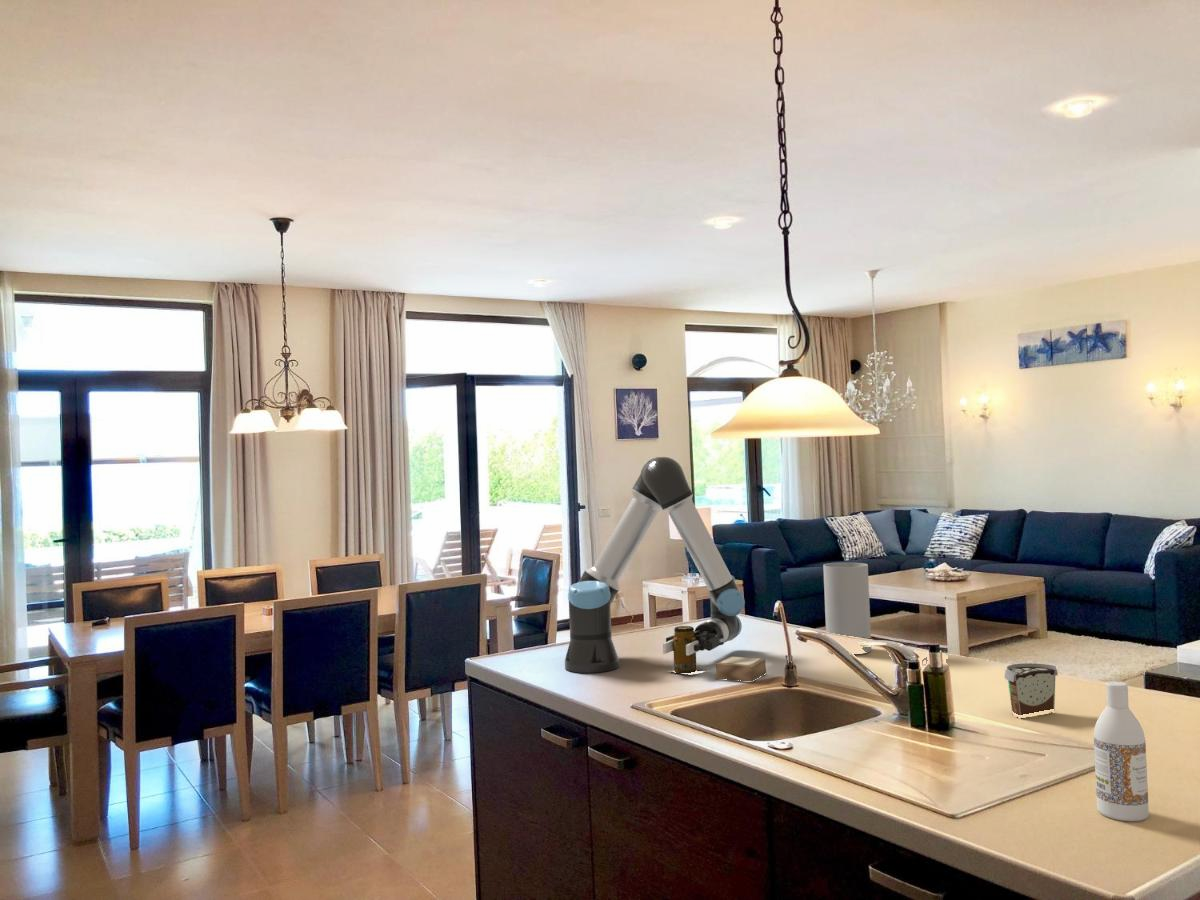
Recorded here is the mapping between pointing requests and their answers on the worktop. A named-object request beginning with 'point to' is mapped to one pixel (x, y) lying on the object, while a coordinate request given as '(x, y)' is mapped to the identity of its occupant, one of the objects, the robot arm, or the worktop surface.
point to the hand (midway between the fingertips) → (675, 649)
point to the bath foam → (1120, 759)
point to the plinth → (740, 668)
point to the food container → (1031, 687)
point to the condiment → (683, 650)
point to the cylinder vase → (847, 600)
